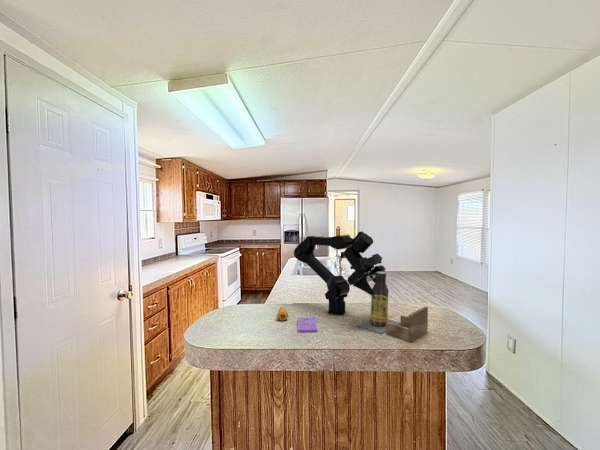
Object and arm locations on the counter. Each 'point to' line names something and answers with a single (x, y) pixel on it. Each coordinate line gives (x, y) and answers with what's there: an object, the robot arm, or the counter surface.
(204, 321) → the counter surface
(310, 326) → the sponges
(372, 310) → the sauce bottle
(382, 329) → the charcoal mat
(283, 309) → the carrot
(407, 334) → the bottle rack
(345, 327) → the counter surface
